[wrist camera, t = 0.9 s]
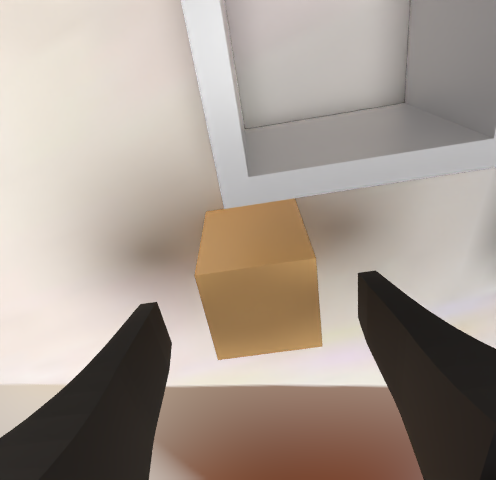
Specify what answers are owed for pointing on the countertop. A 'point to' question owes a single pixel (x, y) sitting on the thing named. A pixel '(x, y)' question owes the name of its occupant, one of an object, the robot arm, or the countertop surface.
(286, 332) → the light orange rectangular block
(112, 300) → the countertop surface
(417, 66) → the housing
